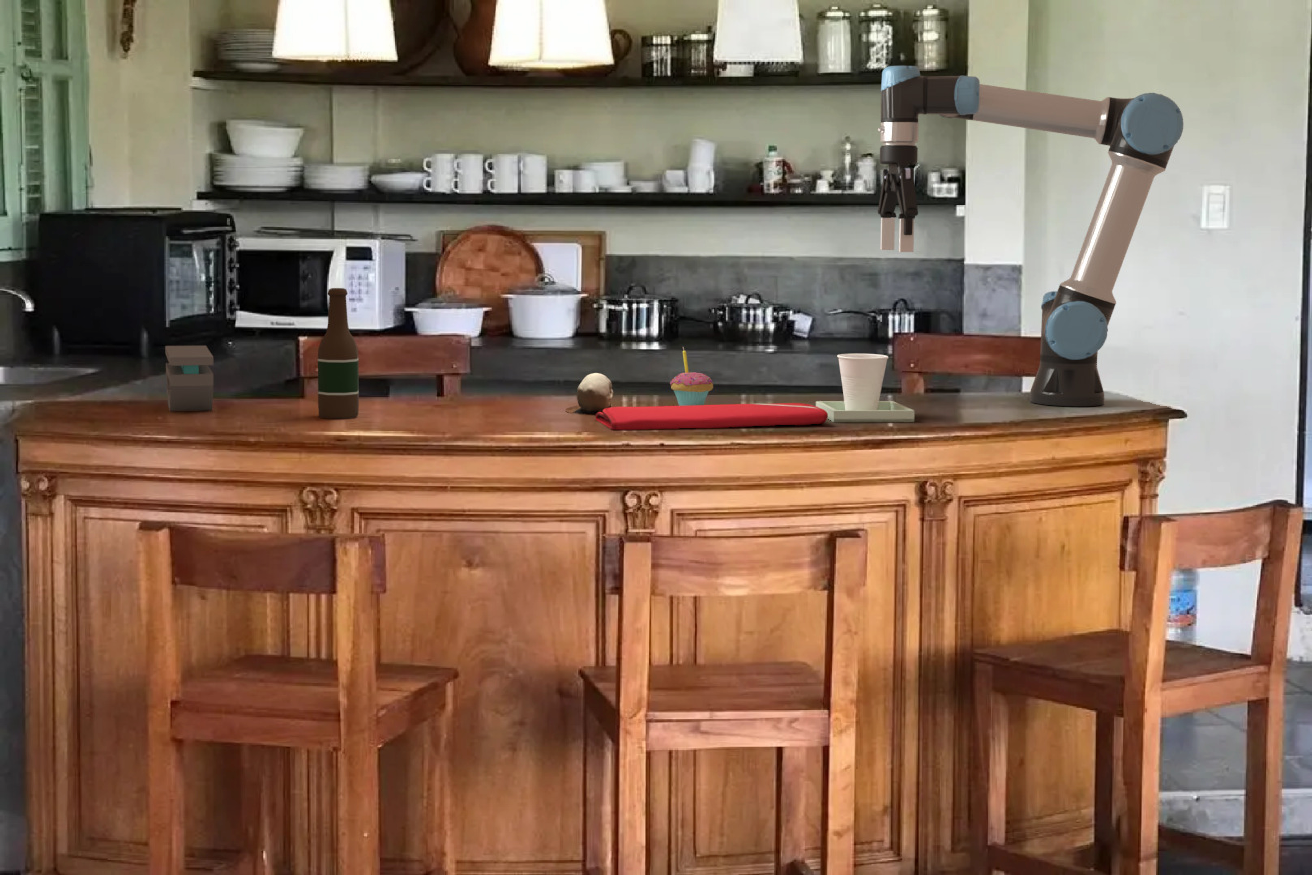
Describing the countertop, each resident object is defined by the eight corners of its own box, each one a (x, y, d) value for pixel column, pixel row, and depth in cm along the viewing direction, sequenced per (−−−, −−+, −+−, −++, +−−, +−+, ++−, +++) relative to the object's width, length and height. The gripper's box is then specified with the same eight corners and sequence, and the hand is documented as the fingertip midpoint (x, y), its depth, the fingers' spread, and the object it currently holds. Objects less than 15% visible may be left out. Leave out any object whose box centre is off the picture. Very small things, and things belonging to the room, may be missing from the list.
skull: (572, 401, 370) (606, 365, 367) (608, 438, 369) (642, 401, 366) (551, 406, 359) (586, 368, 356) (588, 444, 357) (624, 406, 354)
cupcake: (663, 408, 369) (664, 347, 368) (679, 403, 377) (680, 344, 376) (704, 410, 366) (705, 350, 364) (719, 406, 374) (720, 346, 372)
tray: (892, 412, 368) (893, 401, 367) (914, 422, 352) (914, 410, 352) (815, 412, 366) (815, 401, 365) (833, 422, 350) (833, 410, 350)
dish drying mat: (594, 422, 350) (594, 402, 350) (802, 419, 359) (803, 400, 359) (611, 433, 335) (611, 412, 334) (828, 429, 344) (829, 409, 344)
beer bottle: (367, 415, 351) (366, 288, 348) (347, 420, 344) (346, 290, 341) (330, 413, 354) (329, 286, 350) (309, 418, 346) (308, 288, 343)
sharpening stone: (214, 414, 350) (213, 356, 348) (171, 415, 348) (170, 357, 346) (206, 399, 374) (205, 345, 372) (166, 400, 371) (165, 346, 370)
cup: (884, 416, 356) (886, 358, 355) (833, 414, 358) (834, 357, 357) (888, 410, 366) (890, 354, 364) (838, 408, 368) (839, 352, 366)
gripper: (864, 145, 385) (862, 249, 388) (898, 142, 361) (895, 253, 363) (899, 146, 386) (897, 248, 389) (935, 143, 362) (933, 253, 364)
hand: (896, 251), depth 376 cm, fingers open, 13 cm apart
